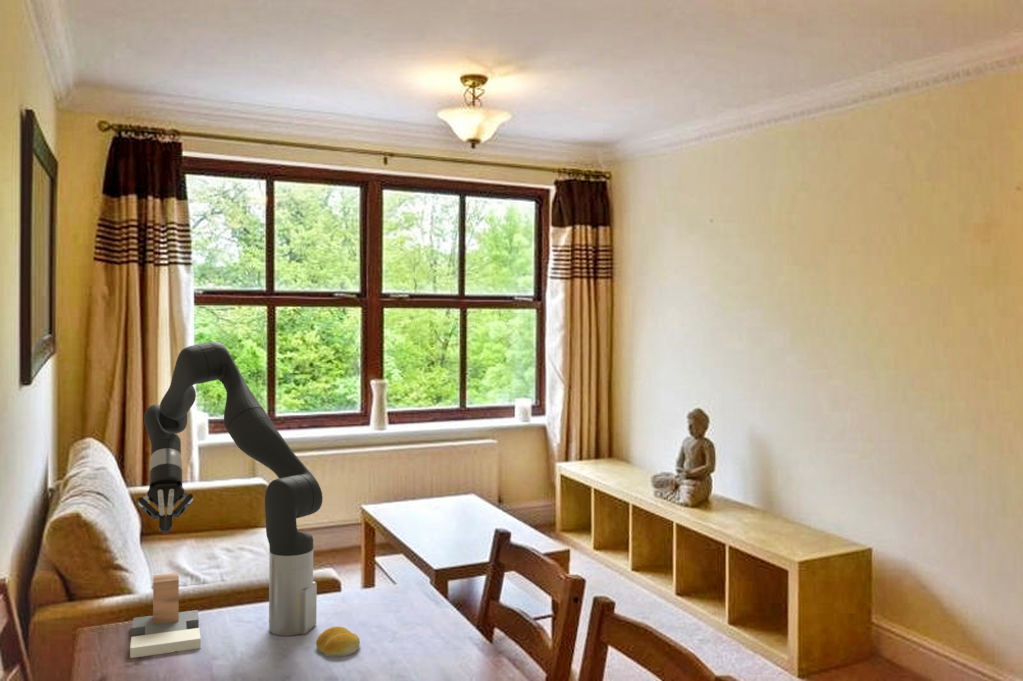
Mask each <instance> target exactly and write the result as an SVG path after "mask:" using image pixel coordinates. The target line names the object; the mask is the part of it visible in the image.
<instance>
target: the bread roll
mask: <svg viewBox="0 0 1023 681" xmlns="http://www.w3.org/2000/svg"><path fill="white" fill-rule="evenodd" d="M315 642H316V643H315V644H316V647H317V649H318V650H319V652H322V653H323V655H325V656H326V655H327V657H332V656H337V657H346V655H347V656H350V655H352V654H355V652H357V651H358V649H359V648H360V645H361V641H360V637H359V636H358V634H357V633H352V632H351V631H350V630H349V629H348V628H346V627H343V626H333V627H330V628H327V629H325V630H324V631H323V632H322V633H320V634H319V635H318V637H317V639H316V641H315Z"/></svg>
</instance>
